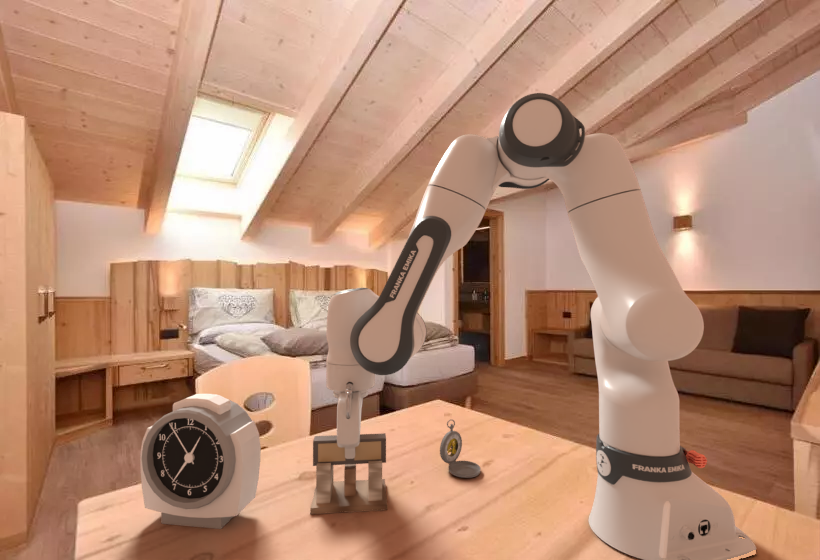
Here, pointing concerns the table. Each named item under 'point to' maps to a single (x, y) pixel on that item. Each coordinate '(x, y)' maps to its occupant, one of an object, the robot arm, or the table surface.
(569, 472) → the table surface
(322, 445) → the long grey beam
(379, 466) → the display stand
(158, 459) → the alarm clock
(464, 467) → the pocket watch
